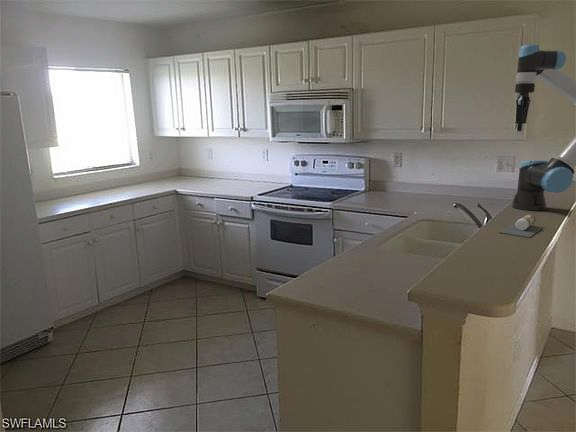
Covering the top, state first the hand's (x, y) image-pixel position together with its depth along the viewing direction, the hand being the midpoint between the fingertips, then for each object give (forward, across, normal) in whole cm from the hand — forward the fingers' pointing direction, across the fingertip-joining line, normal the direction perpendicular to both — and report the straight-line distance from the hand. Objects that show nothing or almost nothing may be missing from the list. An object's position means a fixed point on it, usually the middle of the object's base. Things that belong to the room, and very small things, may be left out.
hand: (519, 138), depth 212 cm
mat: (+34, +28, +12) cm, 46 cm away
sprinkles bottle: (+32, +16, +12) cm, 38 cm away
